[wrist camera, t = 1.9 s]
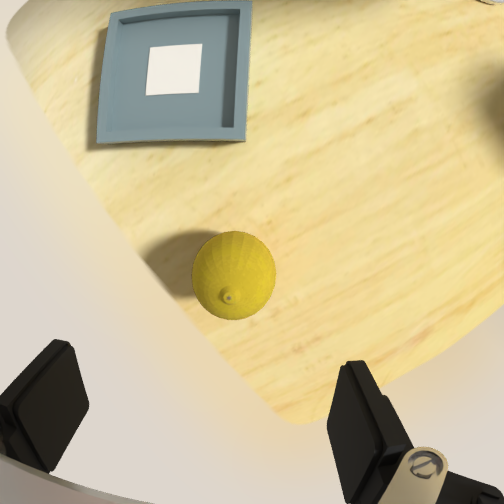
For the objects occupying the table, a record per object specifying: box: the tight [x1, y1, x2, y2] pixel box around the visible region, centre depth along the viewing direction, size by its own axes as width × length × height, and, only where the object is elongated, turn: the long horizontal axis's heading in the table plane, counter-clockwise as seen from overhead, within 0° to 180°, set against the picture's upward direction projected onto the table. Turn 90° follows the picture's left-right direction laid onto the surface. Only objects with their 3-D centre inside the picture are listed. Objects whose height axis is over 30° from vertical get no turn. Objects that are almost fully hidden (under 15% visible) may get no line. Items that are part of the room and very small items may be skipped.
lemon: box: [192, 231, 276, 320], centre depth 21 cm, size 6×6×8 cm
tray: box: [96, 0, 252, 144], centre depth 20 cm, size 11×11×2 cm
